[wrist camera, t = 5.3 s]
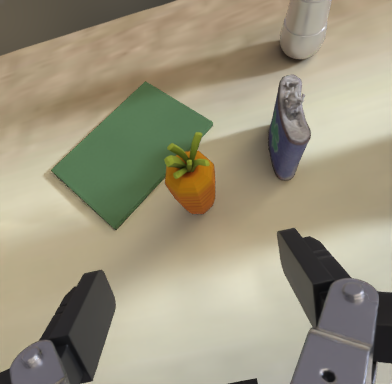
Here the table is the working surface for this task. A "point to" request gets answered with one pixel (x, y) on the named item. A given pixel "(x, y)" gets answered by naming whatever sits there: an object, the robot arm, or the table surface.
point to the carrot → (191, 177)
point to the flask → (288, 128)
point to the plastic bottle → (304, 27)
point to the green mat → (129, 152)
